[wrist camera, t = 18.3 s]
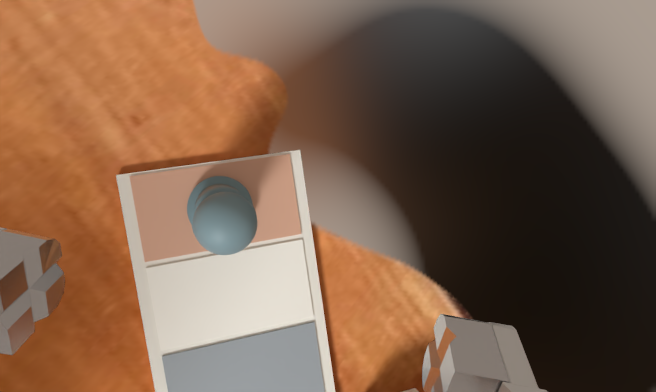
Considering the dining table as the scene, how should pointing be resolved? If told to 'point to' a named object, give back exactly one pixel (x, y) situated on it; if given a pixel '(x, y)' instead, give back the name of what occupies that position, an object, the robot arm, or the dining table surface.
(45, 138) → the dining table surface
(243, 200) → the pawn
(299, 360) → the game board
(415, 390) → the die
